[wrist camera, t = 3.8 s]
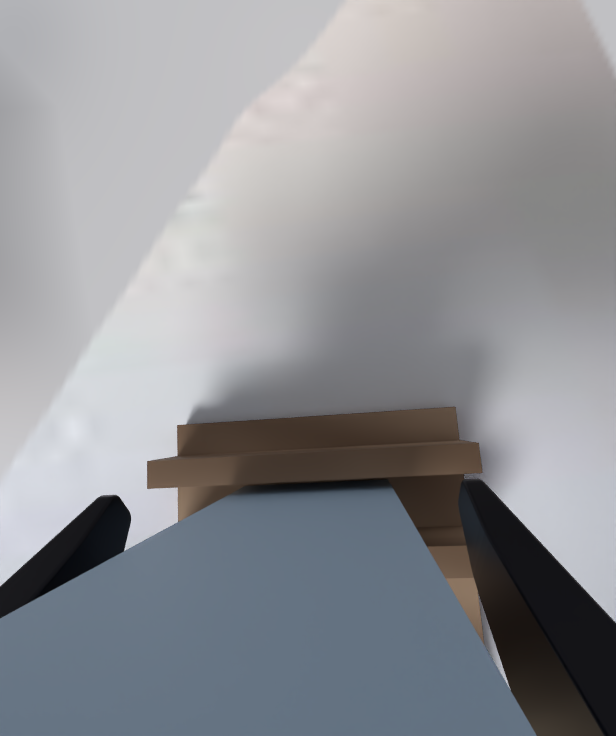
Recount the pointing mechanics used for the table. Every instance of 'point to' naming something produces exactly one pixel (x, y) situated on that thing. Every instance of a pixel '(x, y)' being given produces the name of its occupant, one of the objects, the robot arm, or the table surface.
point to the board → (259, 631)
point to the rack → (340, 470)
